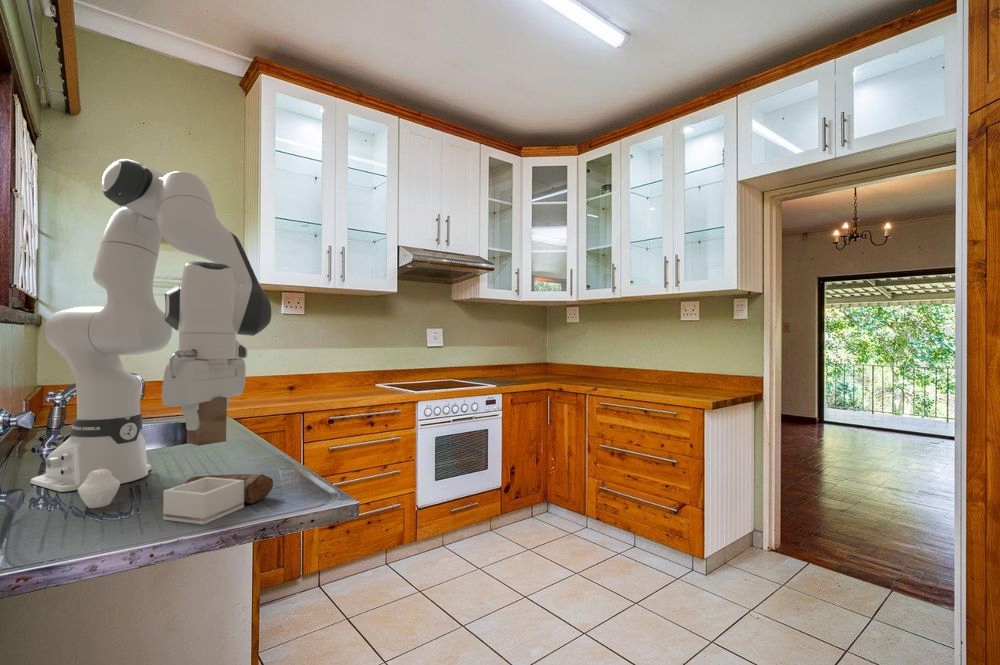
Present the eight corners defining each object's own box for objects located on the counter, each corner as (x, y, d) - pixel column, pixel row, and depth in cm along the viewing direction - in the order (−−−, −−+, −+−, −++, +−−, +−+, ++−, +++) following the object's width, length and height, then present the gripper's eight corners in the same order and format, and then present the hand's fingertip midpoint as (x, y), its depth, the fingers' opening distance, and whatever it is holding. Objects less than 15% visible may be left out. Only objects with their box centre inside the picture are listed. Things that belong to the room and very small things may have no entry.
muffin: (73, 506, 90) (73, 469, 90) (113, 498, 95) (113, 462, 95) (83, 513, 87) (84, 474, 87) (124, 504, 92) (125, 467, 92)
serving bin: (163, 519, 84) (163, 490, 84) (206, 503, 92) (206, 476, 92) (203, 524, 81) (203, 494, 81) (244, 507, 90) (244, 480, 90)
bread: (250, 509, 89) (250, 479, 89) (176, 498, 96) (176, 470, 96) (276, 498, 95) (276, 470, 95) (205, 489, 102) (205, 463, 102)
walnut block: (186, 442, 86) (187, 398, 87) (213, 438, 90) (214, 395, 90) (198, 445, 84) (199, 399, 84) (226, 441, 88) (226, 397, 88)
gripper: (191, 350, 77) (189, 436, 77) (251, 349, 98) (251, 417, 97) (151, 350, 77) (149, 436, 77) (220, 349, 97) (219, 417, 97)
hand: (206, 426), depth 87 cm, fingers closed on walnut block, 6 cm apart
